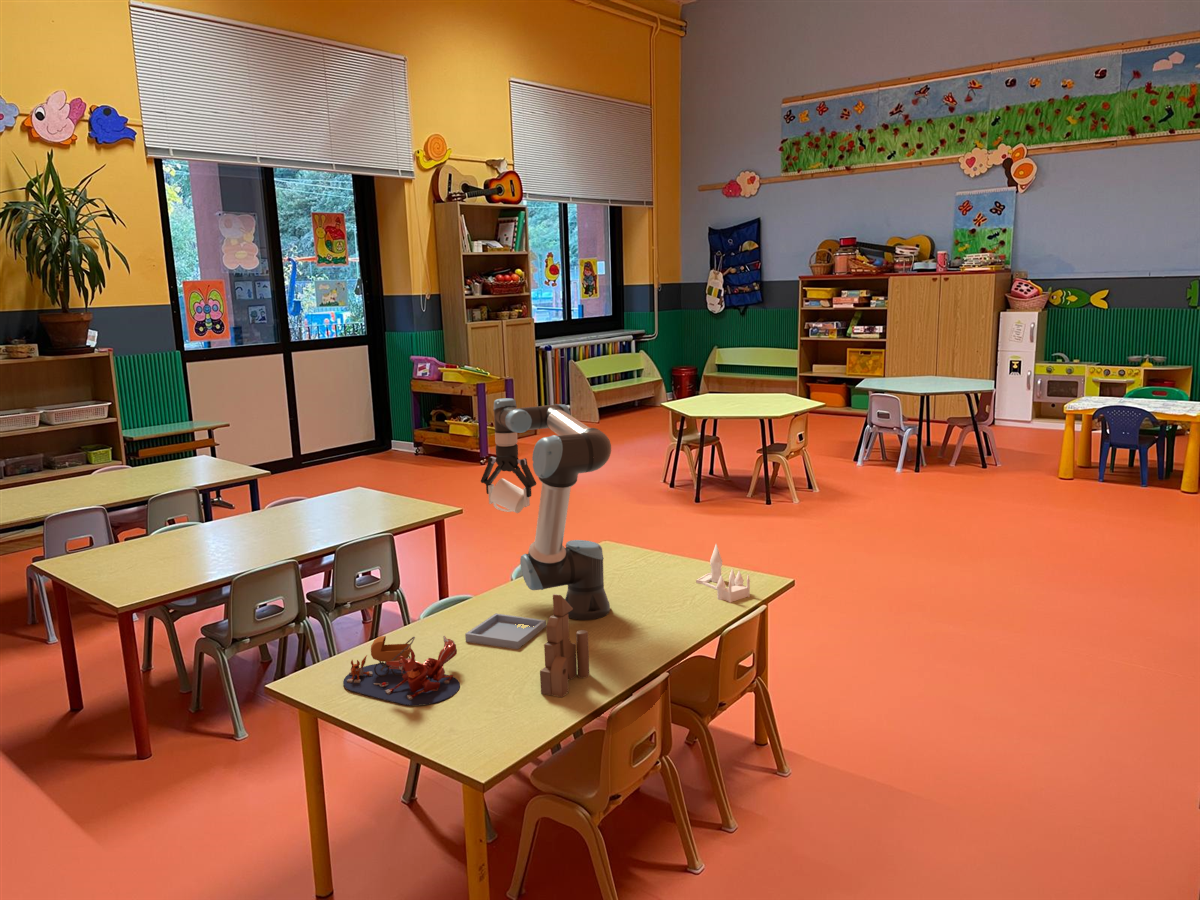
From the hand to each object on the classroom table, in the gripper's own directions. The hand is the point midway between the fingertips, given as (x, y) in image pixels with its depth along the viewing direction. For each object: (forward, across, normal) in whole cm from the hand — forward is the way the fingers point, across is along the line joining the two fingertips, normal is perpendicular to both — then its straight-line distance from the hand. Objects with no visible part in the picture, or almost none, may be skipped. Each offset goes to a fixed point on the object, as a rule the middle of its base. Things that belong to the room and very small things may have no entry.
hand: (509, 504), depth 305 cm
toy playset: (+31, -6, +71) cm, 78 cm away
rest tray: (+31, -17, +36) cm, 50 cm away
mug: (0, -5, -1) cm, 5 cm away
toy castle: (+31, -69, -20) cm, 78 cm away
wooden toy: (+31, -49, +61) cm, 84 cm away
